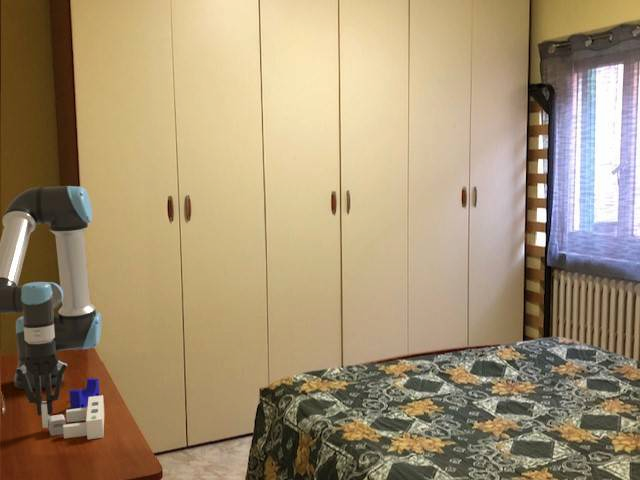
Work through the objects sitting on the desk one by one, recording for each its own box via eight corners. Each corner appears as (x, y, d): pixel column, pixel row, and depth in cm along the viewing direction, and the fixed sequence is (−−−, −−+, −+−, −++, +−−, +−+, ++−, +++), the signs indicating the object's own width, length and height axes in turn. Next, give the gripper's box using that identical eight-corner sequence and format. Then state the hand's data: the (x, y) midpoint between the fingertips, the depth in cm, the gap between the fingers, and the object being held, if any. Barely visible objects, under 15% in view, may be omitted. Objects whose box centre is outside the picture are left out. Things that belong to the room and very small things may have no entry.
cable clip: (86, 396, 221) (84, 378, 220) (99, 397, 220) (98, 378, 220) (66, 410, 209) (64, 391, 209) (80, 411, 209) (79, 391, 208)
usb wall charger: (50, 436, 190) (49, 421, 189) (48, 427, 196) (47, 413, 196) (66, 433, 191) (65, 418, 191) (63, 424, 198) (62, 410, 197)
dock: (67, 416, 204) (66, 398, 204) (104, 411, 207) (103, 394, 206) (63, 442, 185) (61, 423, 184) (103, 437, 188) (102, 418, 187)
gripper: (11, 346, 185) (18, 434, 188) (64, 341, 188) (70, 428, 191) (15, 339, 192) (22, 424, 195) (66, 335, 196) (72, 418, 198)
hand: (46, 426), depth 193 cm, fingers closed
